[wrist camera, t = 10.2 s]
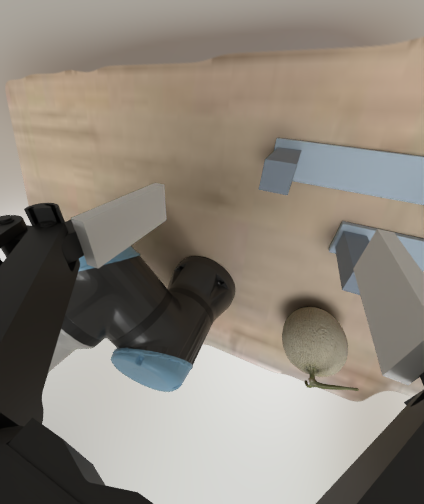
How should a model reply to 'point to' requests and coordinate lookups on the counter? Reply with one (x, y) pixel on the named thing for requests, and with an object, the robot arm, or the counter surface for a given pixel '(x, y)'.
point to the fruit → (315, 345)
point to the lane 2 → (354, 243)
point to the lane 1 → (344, 170)
